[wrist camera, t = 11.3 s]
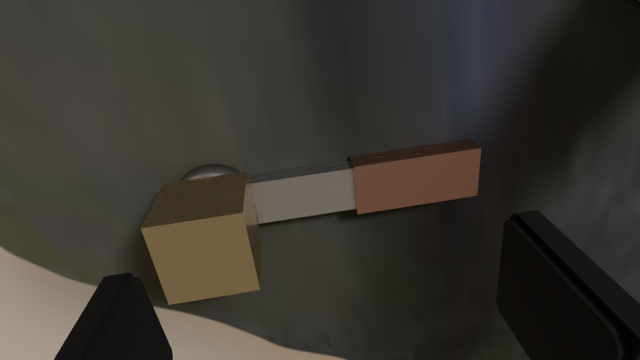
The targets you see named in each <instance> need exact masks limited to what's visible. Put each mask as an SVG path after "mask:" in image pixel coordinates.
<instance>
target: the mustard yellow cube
mask: <svg viewBox="0 0 640 360" xmlns="http://www.w3.org/2000/svg"><path fill="white" fill-rule="evenodd" d="M141 230H142V233H143V236H144V239H145V241H146V244H147V247H148V250H149V252H150V255H151V258H152V260H153V263H154V266H155V269H156V271H157V274H158V277H159V280H160V282H161V285H162V288H163V290H164V293H165V296H166V299H167V301H168V304H169V305H172V304H178V303H184V302H190V301H196V300H202V299H208V298H214V297H220V296H226V295H232V294H238V293H244V292H250V291H256V290H260V266H261V237H260V232H259V227H258V222H257V217H256V213H255V208H254V203H253V198H252V193H251V189H250V184H249V179H248V174H247V171H245V172H238V173H231V174H225V175H218V176H211V177H204V178H197V179H191V180H184V181H177V182H170V183H164V184H163V186H162V188H161V190H160V192H159V194H158V196H157V198H156V200H155V202H154V204H153V206H152V208H151V210H150V212H149V214H148V216H147V217H146V219H145V221H144V223H143V225H142V227H141Z"/></svg>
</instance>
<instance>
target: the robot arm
mask: <svg viewBox="0 0 640 360" xmlns="http://www.w3.org/2000/svg"><path fill="white" fill-rule="evenodd" d="M638 1H639V2H640V0H638ZM497 305H498V308H499V311H500V313H501V315H502V316H503V318H504V319H505V321H506V322H507V324H508V325H509V327H510V329H511V330H512V332H513V333H514V335H515V336H516V338H517V339H518V341H519V343H520V344H521V346H522V347H523V349H524V350H525V352H526V354H527V355H528V357H529V358H530V360H640V304H639V303H638V302H637V301H636V300H635V299H633V298H632V297H631V296H630V295H629V294H628V293H627V292H626V291H625V290H624V289H623V288H622V287H620V286H619V285H618V284H617V283H616V282H615V281H614V280H613V279H612V278H611V277H610V276H609V275H607V274H606V273H605V272H604V271H603V270H602V269H601V268H600V267H599V266H598V265H597V264H596V263H594V262H593V261H592V260H591V259H590V258H589V257H588V256H587V255H586V254H585V253H584V252H582V251H581V250H580V249H579V248H578V247H577V246H576V245H575V244H574V243H573V242H572V241H571V240H569V239H568V238H567V237H566V236H565V235H564V234H563V233H562V232H561V231H560V230H559V229H558V228H556V227H555V226H554V225H553V224H552V223H551V222H550V221H549V220H548V219H547V218H546V217H545V216H543V215H542V214H541V213H540V212H539V211H535V210H534V211H527V212H521V213H514V214H512V215H511V217H510V220H507V221H505V223H504V229H503V239H502V249H501V259H500V269H499V279H498V289H497ZM54 360H173V355H172V349H171V347H170V345H169V342H168V340H167V338H166V335H165V333H164V331H163V329H162V326H161V324H160V322H159V319H158V317H157V315H156V313H155V310H154V308H153V306H152V303H151V301H150V299H149V297H148V294H147V292H146V290H145V287H144V285H143V283H142V281H141V279H140V278H138V277H135V278H134V276H133V275H132V274H131V273H123V274H117V275H110V276H106V277H104V278H103V279H102V281H101V282H100V284H99V286H98V287H97V289H96V291H95V292H94V294H93V296H92V297H91V299H90V301H89V302H88V304H87V306H86V307H85V309H84V311H83V312H82V314H81V316H80V317H79V319H78V321H77V322H76V324H75V325H74V327H73V329H72V331H71V332H70V334H69V335H68V337H67V339H66V340H65V342H64V344H63V345H62V347H61V349H60V350H59V352H58V354H57V355H56V357H55V359H54Z"/></svg>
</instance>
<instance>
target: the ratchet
mask: <svg viewBox="0 0 640 360" xmlns="http://www.w3.org/2000/svg"><path fill="white" fill-rule="evenodd" d="M480 157H481V148H480V147H479V146H478V145H476V144H475V143H474V142H472V141H471V140H470V139H468V140H461V141H454V142H447V143H441V144H434V145H427V146H420V147H413V148H407V149H400V150H393V151H386V152H379V153H373V154H366V155H359V156H352V157H349V160H348V161H342V162H335V163H328V164H321V165H314V166H308V167H301V168H294V169H287V170H281V171H274V172H267V173H260V174H253V175H248V179H249V184H250V189H251V193H252V198H253V203H254V208H255V213H256V217H257V222H258V224H261V223H267V222H274V221H280V220H287V219H293V218H300V217H306V216H312V215H319V214H325V213H332V212H338V211H345V210H351V209H355V210H356V212H357V214H363V213H369V212H376V211H382V210H389V209H395V208H401V207H408V206H414V205H421V204H427V203H433V202H440V201H446V200H452V199H459V198H465V197H472V196H477V193H478V181H479V169H480ZM238 172H240V171H238V170H236V169H235V168H232V167H230V166H226V165H221V164H208V165H203V166H200V167H197V168H195V169H193V170H191V171H190V172H188V173H187V174H186V175H185V176H184V177H183V178H182V179H181V181H184V180H191V179H197V178H204V177H211V176H218V175H225V174H231V173H238Z"/></svg>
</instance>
